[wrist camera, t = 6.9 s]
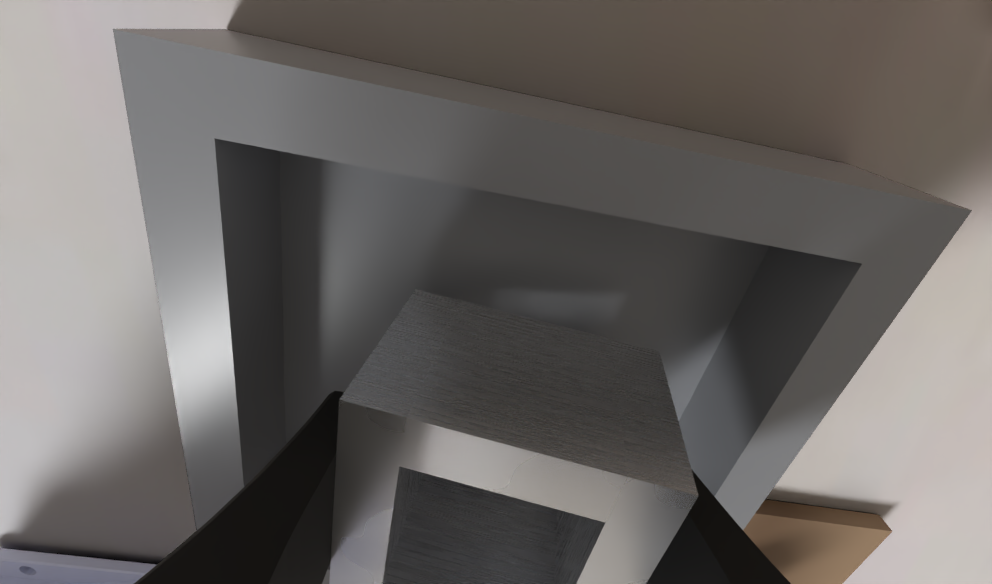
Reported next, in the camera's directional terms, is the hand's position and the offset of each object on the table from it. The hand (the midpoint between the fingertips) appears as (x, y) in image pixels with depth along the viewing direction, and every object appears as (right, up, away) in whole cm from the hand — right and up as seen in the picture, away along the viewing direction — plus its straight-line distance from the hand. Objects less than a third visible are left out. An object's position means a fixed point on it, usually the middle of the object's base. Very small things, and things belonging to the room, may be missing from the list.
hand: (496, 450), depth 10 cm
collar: (0, 0, +1) cm, 1 cm away
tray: (0, +2, +3) cm, 3 cm away
